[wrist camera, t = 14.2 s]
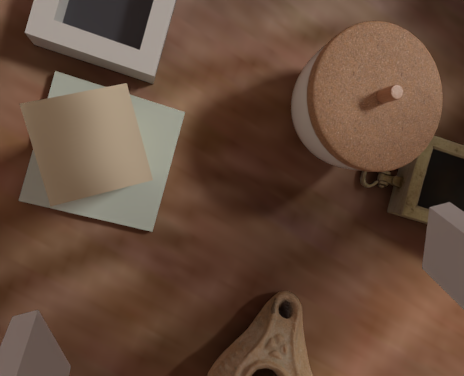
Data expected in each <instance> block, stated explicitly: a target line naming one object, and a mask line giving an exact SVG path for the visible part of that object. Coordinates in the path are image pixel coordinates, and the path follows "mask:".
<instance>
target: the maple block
mask: <svg viewBox="0 0 464 376" xmlns="http://www.w3.org/2000/svg"><path fill="white" fill-rule="evenodd" d="M20 107H21V110H22V114H23V117H24V120H25V124H26V127H27V130H28V133H29V137H30V140H31V143H32V147H33V150H34V153H35V157H36V160H37V163H38V167H39V170H40V173H41V177H42V180H43V183H44V186H45V190H46V193H47V196H48V200H49V203H50V206H55V205H58V204H62V203H66V202H70V201H74V200H78V199H82V198H86V197H90V196H93V195H97V194H101V193H105V192H109V191H113V190H117V189H121V188H125V187H128V186H132V185H136V184H140V183H144V182H148V181H152V180H153V178H152V174H151V171H150V167H149V163H148V160H147V156H146V152H145V148H144V145H143V141H142V137H141V134H140V130H139V126H138V123H137V119H136V115H135V112H134V108H133V104H132V101H131V97H130V93H129V90H128V86H127V83H124V84H119V85H114V86H109V87H104V88H99V89H94V90H88V91H83V92H78V93H73V94H68V95H63V96H57V97H52V98H47V99H42V100H37V101H32V102H27V103H21V104H20Z"/></svg>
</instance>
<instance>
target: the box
mask: <svg viewBox="0 0 464 376" xmlns="http://www.w3.org/2000/svg"><path fill="white" fill-rule="evenodd" d="M366 173H367V172H366V171H362V173H361V177H360V182H361V185H362V186H364V187H367V188H371V187H373V186H374V185H376V184H378V187H380V188H384V187H385V186H388V184H389V185H392V186H394V187H393V190H392V194H391V198H390V202H389V205H388V209H387V213H391V214H394V215H397V216H401V217H404V218H407V219H411V220H414V221H417V222H421V223H424V224H427V223H428V215H429V207H432V206H436V205H440V204H444V203H447V202H450V203H452V204H453V205H455V206H456V207H458V208H459V209H461V210H462V211H464V145H461V144H458V143H455V142H452V141H449V140H446V139H443V138H441V137H438V136H435V135H434V136H433V138H432V140H431V141H430V143H429V144H428V146H427V147H426V149H425V150H424V151H423V152H422V153H421V154H420V155H419V156H418V157H417V158H416V159H414V160H413V161H412V162H410V163H409V164H407V165H405V166H403V167H401V168H399V169H398V172H397V176H395V177H393V176H391V172H388V171H385V172H378V173H379V174H378V178H377V180H376V181H373V182H372V183H371V184H367V183H366V179H365V176H366Z"/></svg>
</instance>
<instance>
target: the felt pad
mask: <svg viewBox="0 0 464 376" xmlns="http://www.w3.org/2000/svg"><path fill="white" fill-rule="evenodd" d="M99 88H104V86H101V85H98V84H95V83H92V82H89V81H86V80H82V79H79V78H76V77H73V76H70V75H67V74H64V73H60V72H57V71H55V74H54V77H53V81H52V84H51V88H50V91H49V95H48V98H52V97H57V96H63V95H68V94H73V93H78V92H83V91H88V90H94V89H99ZM130 97H131V101H132V104H133V108H134V112H135V115H136V119H137V123H138V126H139V130H140V134H141V137H142V141H143V145H144V148H145V152H146V156H147V160H148V163H149V167H150V171H151V174H152V178H153V180H152V181H148V182H144V183H140V184H136V185H132V186H128V187H125V188H121V189H117V190H113V191H109V192H105V193H101V194H97V195H93V196H90V197H86V198H82V199H78V200H74V201H70V202H66V203H62V204H58V205H55V206H50V203H49V200H48V196H47V193H46V190H45V186H44V183H43V180H42V177H41V173H40V170H39V167H38V163H37V160H36V157H35V153H34V150H33V151H32V155H31V158H30V162H29V165H28V169H27V172H26V176H25V179H24V183H23V186H22V190H21V193H20V197H19V200H18V201H21V202H26V203H30V204H34V205H39V206H43V207H47V208H52V209H56V210H60V211H65V212H69V213H73V214H78V215H82V216H86V217H90V218H95V219H99V220H103V221H108V222H112V223H116V224H121V225H125V226H129V227H134V228H138V229H142V230H147V231H151V232H152V231H153V228H154V224H155V220H156V217H157V213H158V209H159V206H160V202H161V198H162V195H163V191H164V187H165V184H166V180H167V176H168V173H169V169H170V165H171V162H172V158H173V154H174V151H175V147H176V144H177V140H178V136H179V133H180V129H181V125H182V122H183V118H184V114H185V112H183V111H180V110H177V109H173V108H170V107H167V106H164V105H161V104H158V103H155V102H151V101H148V100H145V99H142V98H139V97H136V96H133V95H130Z"/></svg>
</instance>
